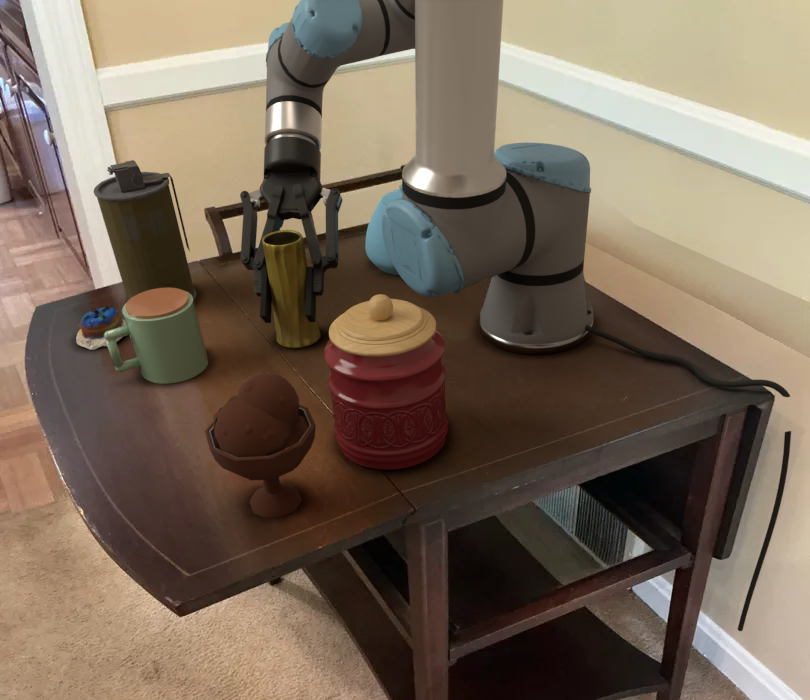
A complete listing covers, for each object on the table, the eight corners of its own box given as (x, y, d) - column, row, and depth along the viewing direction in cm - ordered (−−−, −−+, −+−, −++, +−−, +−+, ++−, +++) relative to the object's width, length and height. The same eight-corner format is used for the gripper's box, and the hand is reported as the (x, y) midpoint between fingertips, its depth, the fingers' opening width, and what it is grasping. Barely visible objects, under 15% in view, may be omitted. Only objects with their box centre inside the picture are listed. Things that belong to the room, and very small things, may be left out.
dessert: (109, 312, 126) (110, 288, 121) (138, 345, 126) (140, 322, 120) (63, 337, 122) (62, 313, 117) (93, 371, 122) (93, 349, 117)
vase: (313, 350, 115) (297, 247, 105) (271, 348, 116) (251, 246, 106) (325, 328, 119) (311, 228, 110) (284, 327, 120) (266, 227, 111)
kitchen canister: (315, 437, 99) (292, 296, 87) (403, 396, 104) (392, 258, 93) (380, 488, 91) (364, 340, 79) (472, 440, 96) (469, 295, 85)
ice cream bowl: (270, 460, 96) (245, 341, 86) (347, 491, 91) (329, 369, 81) (203, 511, 90) (168, 389, 80) (281, 548, 85) (253, 422, 75)
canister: (134, 322, 125) (92, 183, 111) (123, 295, 132) (82, 161, 119) (206, 304, 128) (174, 167, 114) (191, 279, 135) (158, 147, 122)
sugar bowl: (375, 285, 129) (368, 209, 121) (359, 248, 140) (352, 175, 132) (471, 271, 130) (470, 194, 123) (447, 235, 141) (445, 162, 134)
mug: (217, 370, 112) (202, 304, 106) (129, 398, 108) (107, 332, 102) (195, 343, 118) (179, 279, 112) (111, 369, 114) (89, 304, 108)
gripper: (365, 160, 116) (361, 327, 114) (235, 165, 118) (229, 329, 116) (355, 130, 108) (351, 308, 107) (217, 136, 110) (211, 311, 109)
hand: (287, 318), depth 112 cm, fingers closed on vase, 5 cm apart
